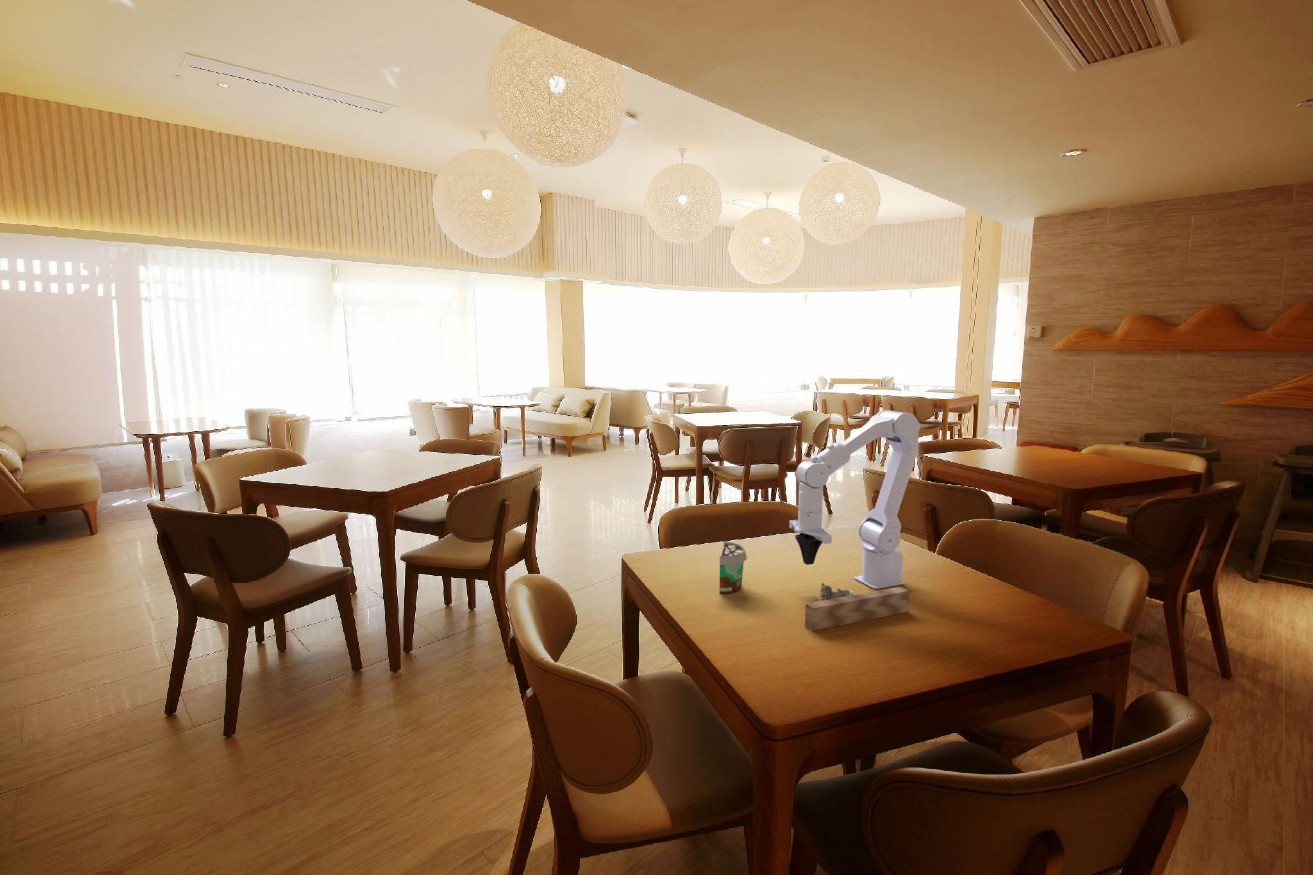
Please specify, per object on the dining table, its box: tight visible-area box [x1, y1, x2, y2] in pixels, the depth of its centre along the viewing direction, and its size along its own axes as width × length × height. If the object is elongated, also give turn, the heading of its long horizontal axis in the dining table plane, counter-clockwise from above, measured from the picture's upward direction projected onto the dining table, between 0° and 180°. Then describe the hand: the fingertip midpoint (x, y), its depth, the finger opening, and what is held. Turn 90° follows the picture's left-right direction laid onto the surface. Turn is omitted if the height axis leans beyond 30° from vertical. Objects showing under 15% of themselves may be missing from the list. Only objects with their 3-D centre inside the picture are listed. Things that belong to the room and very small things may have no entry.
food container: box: [719, 541, 748, 595], centre depth 147 cm, size 12×6×10 cm, turn 168°
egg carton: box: [819, 582, 855, 601], centre depth 136 cm, size 11×8×4 cm
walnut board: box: [804, 586, 910, 632], centre depth 130 cm, size 26×2×5 cm, turn 111°
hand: (808, 563), depth 146 cm, fingers closed
